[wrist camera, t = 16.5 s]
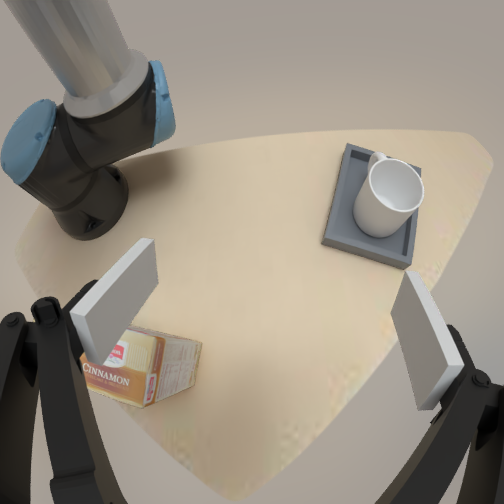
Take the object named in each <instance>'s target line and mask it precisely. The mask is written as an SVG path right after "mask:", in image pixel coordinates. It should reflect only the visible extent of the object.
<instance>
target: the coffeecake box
mask: <svg viewBox="0 0 504 504" xmlns="http://www.w3.org/2000/svg"><path fill="white" fill-rule="evenodd" d="M61 310H62V309H61ZM33 322H35V320H34V319H33ZM201 346H202V343H201V342H198V341H194V340H190V339H186V338H182V337H178V336H174V335H169V334H165V333H161V332H157V331H153V330H148V329H144V328H140V327H136V326H131V325H129V326H128V328H127V329H126V331H125V332H124V334H123V335H122V337H121V338H120V340H119V341H118V343H117V344H116V346H115V347H114V349H113V350H112V352H111V353H110V355H109V356H108V358H107V359H106V361H105V362H104V364H103V365H102V366H100V365H97V364H94V363H91V362H88V361H87V358H86V356H85V353H83V354H82V356H81V357H80V360H81V362H82V366H83V371H84V375H85V380H86V384H87V388H88V390H91V391H93V392H96V393H98V394H101V395H103V396H106V397H109V398H112V399H114V400H117V401H120V402H123V403H126V404H129V405H132V406H135V407H138V408H141V409H142V408H144V407H146V406H149V405H151V404H153V403H155V402H158V401H160V400H163V399H165V398H167V397H169V396H172V395H174V394H176V393H178V392H181V391H183V390H185V389H187V388H189V387H192V386H194V383H195V377H196V371H197V366H198V362H199V356H200V351H201Z"/></svg>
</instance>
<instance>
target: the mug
mask: <svg viewBox="0 0 504 504" xmlns="http://www.w3.org/2000/svg"><path fill="white" fill-rule="evenodd" d="M423 198H424V186H423V183H422V180H421V178H420V176H419V175H418V173H417V172H416V171H415V170H414V169H413V168H412V167H411V166H410V165H408V164H407V163H405V162H403V161H401V160H398V159H393V158H387V157H386V155H385V154H383V153H382V152H375V153H373V154H372V155H371V157H370V160H369V163H368V176H367V178H366V180H365V182H364V184H363V186H362V188H361V190H360V192H359V194H358V196H357V198H356V200H355V202H354V206H353V216H354V219H355V221H356V223H357V225H358V226H359V228H360V229H361V230H362V231H363V232H365V233H366V234H368V235H370V236H373V237H377V238H383V237H387V236H390V235H392V234H393V233H394V232H395V231H396V230H398V229H399V227H400V226H401V225H402V224H403V223H404V222H405V221H406V220H407V219H408V218H409V217H410V216H411V215H412V213H413V212H414V211H415V210H416V209H417V208H418V207H419V206H420V204H421V203H422V201H423Z"/></svg>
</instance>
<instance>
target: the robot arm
mask: <svg viewBox="0 0 504 504" xmlns="http://www.w3.org/2000/svg"><path fill="white" fill-rule="evenodd" d="M4 1H5V3H6V5H7V6H8V8H9V9H10V11H11V12H12V14H13V15H14V17H15V18H16V20H17V21H18V23H19V24H20V26H21V27H22V28H23V30H24V32H25V33H26V34H27V36H28V37H29V39H30V40H31V42H32V43H33V44H34V46H35V47H36V49H37V50H38V52H39V53H40V54H41V56H42V57H43V59H44V60H45V61H46V63H47V64H48V66H49V67H50V68H51V70H52V71H53V72H54V74H55V75H56V76H57V78H58V79H59V81H60V82H61V83H62V85H63V86H64V87H65V89H66V91H65V94H64V100H63V103H62V104H61V105H59V106H56V104H55V102H53V101H51V100H49V99H45V100H44V99H43V100H40V101H37V102H36V103H34V104H32V105H31V106H30V107H29V108H27V109H26V110H25V111H24V112H23V113H22V114H21V115H20V117H19V118H18V119H17V120H16V121H15V123H14V124H13V126H12V128H11V129H10V131H9V132H8V135H7V136H6V139H5V141H4V143H3V147H2V151H1V158H0V159H1V166H2V168H3V170H4V172H5V173H6V174H7V175H8V176H9V177H10V178H11V179H12V180H13V181H14V183H16V184H17V185H19V186H20V187H21V188H23V189H24V190H25V191H27V192H28V193H29V194H31V195H32V196H33V197H35V198H36V199H37V200H39V201H40V202H41V203H43V204H44V205H46V206H47V207H48V208H50V209H51V210H52V212H53V214H54V216H55V218H56V219H57V221H58V223H59V225H60V226H61V228H62V229H63V230H64V231H65V232H66V233H68V234H69V235H71V236H72V237H74V238H76V239H79V240H91V239H94V238H97V237H99V236H101V235H103V234H104V233H106V232H107V231H108V230H109V229H111V228H112V227H113V226H114V225H115V223H116V222H117V221H118V220H119V218H120V217H121V215H122V213H123V211H124V209H125V206H126V203H127V199H128V185H127V181H126V179H125V177H124V176H123V174H122V173H121V172H120V171H119V169H118V168H117V167H115V166H114V165H112V163H114V162H117V161H119V160H121V159H124V158H126V157H128V156H131V155H133V154H136V153H138V152H141V151H143V150H146V149H148V148H152V147H154V146H155V145H156V144H158V143H160V142H162V141H164V140H167V139H169V138H170V137H171V136H172V135H173V134H174V132H175V127H176V125H175V119H174V113H173V108H172V103H171V99H170V97H169V91H168V85H167V81H166V77H165V74H164V70H163V67H162V64H161V62H160V61H157V60H156V61H149V62H148V61H147V58H146V57H145V56H144V55H143V53H141V52H140V51H137V50H133V49H128V47H127V45H126V42H125V40H124V38H123V36H122V33H121V31H120V29H119V26H118V24H117V22H116V20H115V17H114V15H113V13H112V11H111V8H110V6H109V4H108V1H107V0H4ZM157 285H158V275H157V265H156V255H155V244H154V239H147V238H141V239H140V240H139V241H138V242H136V243H135V244H134V245H133V246H132V247H131V248H130V249H129V250H128V251H127V252H126V253H125V254H124V255H123V256H122V257H121V258H120V259H119V260H118V261H117V262H116V263H115V264H114V265H113V266H112V267H111V268H110V269H109V270H108V271H107V272H106V273H105V274H104V276H103V277H102V278H101V279H100V280H93V281H91V282H89V283H87V284H86V285H85V286H84V287H83V288H82V289H81V290H80V292H78V293H77V294H76V295H75V297H73V298H72V299H71V300H70V301H69V302H68V304H67V305H66V306H65V307H64V308H63V309H62V310H61V307H60V304H59V301H58V299H56V298H55V297H44V298H41V299H39V300H37V301H36V302H35V303H34V304H33V305H32V307H31V312H32V315H33V317H34V320H35V322H27V321H26V319H25V317H24V315H23V314H22V313H20V312H13V313H10V314H8V315H7V316H5V317H4V318H3V320H2V321H1V323H0V504H30V483H31V482H30V481H31V457H32V443H33V432H34V423H35V415H36V407H37V401H38V395H39V389H40V398H41V407H42V415H43V422H44V429H45V434H46V440H47V446H48V451H49V455H50V460H51V465H52V469H53V474H54V478H53V479H51V480H50V490H51V493H52V497H53V501H54V504H128V503H127V502H126V500H125V499H124V497H123V495H122V493H121V490H120V488H119V485H118V483H117V480H116V478H115V476H114V473H113V470H112V467H111V465H110V463H109V460H108V457H107V454H106V451H105V448H104V445H103V442H102V439H101V435H100V433H99V429H98V426H97V423H96V419H95V416H94V412H93V408H92V404H91V401H90V397H89V393H88V388H87V384H86V380H85V375H84V371H83V366H82V362H81V360H80V357H81V356H82V354H83V353H85V356H86V358H87V361H88V362H91V363H94V364H97V365H100V366H102V365H103V364H104V362H105V361H106V359H107V358H108V356H109V355H110V353H111V352H112V350H113V349H114V347H115V346H116V344H117V343H118V341H119V340H120V338H121V337H122V335H123V334H124V332H125V331H126V329H127V328H128V326H129V325H130V323H131V322H132V320H133V319H134V317H135V316H136V314H137V313H138V312H139V310H140V309H141V307H142V306H143V304H144V303H145V301H146V300H147V299H148V297H149V296H150V294H151V293H152V292H153V290H154V289H155V287H156V286H157ZM391 316H392V319H393V322H394V325H395V328H396V332H397V335H398V338H399V341H400V345H401V348H402V352H403V355H404V358H405V362H406V365H407V369H408V373H409V377H410V380H411V384H412V388H413V392H414V396H415V400H416V405H417V409H418V411H419V410H433V409H434V408H435V406H436V405H437V404H438V402H439V401H440V404H441V407H442V409H441V410H440V411H439V412H438V414H437V415H436V416H435V417H434V418H433V420H432V421H431V422H430V423H431V426H430V428H429V429H428V431H427V432H426V434H425V436H424V437H423V439H422V440H421V442H420V443H419V445H418V446H417V448H416V449H415V451H414V452H413V454H412V455H411V457H410V458H409V460H408V461H407V463H406V464H405V465H404V467H403V468H402V470H401V471H400V472H399V474H398V475H397V476H396V478H395V479H394V480H393V482H392V483H391V484H390V485H389V487H388V488H387V489H386V490H385V492H384V493H383V494H382V496H381V497H380V498H379V499H378V500H377V501H376V503H375V504H438V503H439V502H440V500H441V498H442V497H443V495H444V493H445V492H446V490H447V488H448V486H449V485H450V483H451V481H452V479H453V477H454V475H455V473H456V472H457V470H458V467H459V466H460V464H461V462H462V460H463V458H464V455H465V453H466V451H467V449H468V447H469V445H470V442H471V445H470V450H469V455H468V460H467V465H466V469H465V474H464V478H463V482H462V486H461V490H460V493H459V497H458V500H457V503H456V504H504V386H501V385H497V384H493V383H491V380H490V378H489V377H488V375H487V374H486V373H484V372H483V371H481V370H478V369H476V368H475V366H474V364H473V361H472V359H471V357H470V355H469V353H468V351H467V349H466V348H465V347H466V346H465V345H464V342H462V338H461V336H460V334H459V332H458V331H457V330H456V329H455V328H454V327H453V326H452V325H446V324H445V322H444V320H443V318H442V316H441V314H440V312H439V310H438V308H437V306H436V304H435V302H434V300H433V298H432V296H431V294H430V292H429V291H428V289H427V287H426V285H425V283H424V282H423V280H422V278H421V276H420V274H419V273H418V272H414V271H405V274H404V277H403V280H402V283H401V286H400V288H399V291H398V294H397V297H396V300H395V303H394V305H393V308H392V311H391Z"/></svg>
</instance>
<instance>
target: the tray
mask: <svg viewBox="0 0 504 504" xmlns="http://www.w3.org/2000/svg"><path fill="white" fill-rule="evenodd" d="M373 153H375V152H374V151H371V150H368V149H364V148H361V147H358V146H355V145H352V144H348V143H347V145H346V148H345V151H344V154H343V159H342V163H341V168H340V172H339V177H338V181H337V185H336V189H335V193H334V198H333V202H332V206H331V210H330V214H329V218H328V222H327V225H326V229H325V233H324V237H323V241H322V244H323V245H326V246H330V247H333V248H336V249H339V250H343V251H346V252H349V253H352V254H356V255H359V256H362V257H365V258H369V259H372V260H375V261H378V262H381V263H384V264H388V265H391V266H394V267H397V268H400V269H403V270H404V269H406V268H407V267H409V266H410V265H411V264H412V257H413V250H414V243H415V235H416V227H417V218H418V208H417V209H416V210H415V211H414V212H413V213H412V215H411V216H410V217H409V218H408V219H407V220H406V221H405V222H404V223H403V224H402V225H401V226H400V227H399V229H398V230H396V231H395V232H394V233H393V234H392V235H390V236H387V237H383V238H377V237H373V236H370V235H368V234H366V233H365V232H363V231H362V230H361V229H360V228H359V226H358V225H357V223H356V221H355V219H354V216H353V206H354V202H355V200H356V198H357V196H358V194H359V192H360V190H361V188H362V186H363V184H364V182H365V180H366V178H367V176H368V163H369V160H370V157H371V155H372V154H373ZM386 157H387V158H391V157H388V156H386ZM393 159H394V158H393ZM407 164H408V163H407ZM408 165H410V166H411V167H412V168H413V169H414V170H415V171H416V172H417V173H418V175H419V176H420V178H421V168H419V167H416V166H413V165H411V164H408Z"/></svg>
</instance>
